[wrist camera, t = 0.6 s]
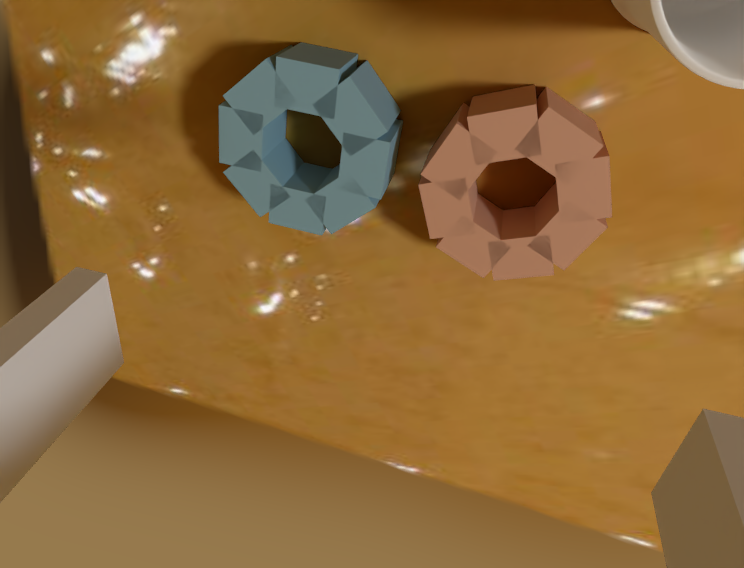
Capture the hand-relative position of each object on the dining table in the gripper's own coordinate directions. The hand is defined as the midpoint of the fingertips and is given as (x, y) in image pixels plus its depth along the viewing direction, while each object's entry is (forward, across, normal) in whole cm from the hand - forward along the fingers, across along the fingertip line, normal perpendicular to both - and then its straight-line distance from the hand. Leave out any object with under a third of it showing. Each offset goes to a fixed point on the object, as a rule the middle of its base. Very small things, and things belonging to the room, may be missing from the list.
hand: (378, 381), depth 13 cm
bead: (+24, -8, -4) cm, 26 cm away
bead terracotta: (+24, +4, -4) cm, 25 cm away
